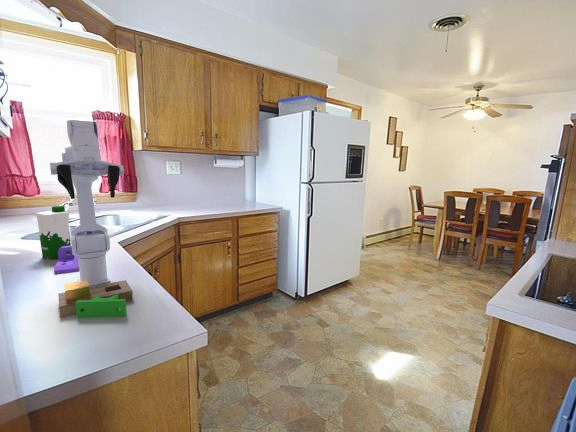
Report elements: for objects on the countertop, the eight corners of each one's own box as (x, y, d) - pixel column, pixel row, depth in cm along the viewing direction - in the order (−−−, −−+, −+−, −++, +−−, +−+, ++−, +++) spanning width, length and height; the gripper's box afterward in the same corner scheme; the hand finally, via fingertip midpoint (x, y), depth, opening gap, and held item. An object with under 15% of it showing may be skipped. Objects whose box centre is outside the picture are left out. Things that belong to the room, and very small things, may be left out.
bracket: (60, 264, 107) (58, 246, 106) (82, 261, 110) (81, 244, 109) (54, 275, 97) (52, 255, 96) (79, 271, 100) (77, 253, 99)
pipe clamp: (131, 310, 75) (130, 294, 74) (124, 318, 71) (123, 301, 71) (85, 311, 74) (84, 294, 73) (76, 319, 70) (75, 301, 69)
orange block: (66, 304, 76) (64, 284, 75) (89, 299, 79) (87, 279, 78) (67, 312, 72) (65, 290, 71) (91, 306, 75) (89, 286, 74)
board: (59, 304, 77) (58, 293, 76) (126, 289, 87) (125, 280, 86) (60, 318, 70) (58, 306, 69) (132, 300, 80) (132, 290, 79)
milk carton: (76, 254, 118) (71, 206, 114) (50, 260, 109) (44, 209, 106) (63, 251, 121) (58, 205, 118) (38, 257, 113) (31, 207, 110)
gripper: (47, 139, 64) (51, 183, 58) (121, 144, 73) (130, 183, 67) (50, 161, 69) (53, 205, 63) (118, 164, 78) (127, 202, 72)
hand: (93, 195), depth 65 cm, fingers open, 7 cm apart
